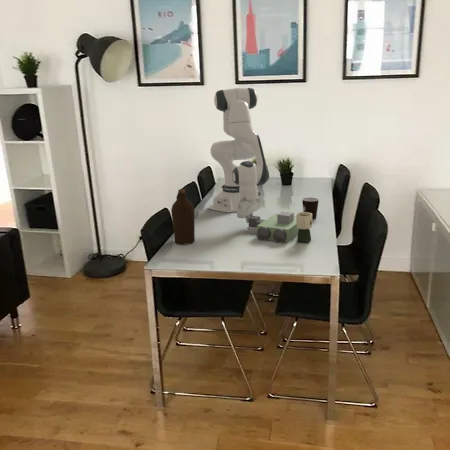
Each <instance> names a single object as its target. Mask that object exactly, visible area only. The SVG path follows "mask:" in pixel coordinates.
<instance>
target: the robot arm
mask: <svg viewBox="0 0 450 450" xmlns="http://www.w3.org/2000/svg"><path fill="white" fill-rule="evenodd" d="M258 99H259V98H258V94H257V91H256V89H254V88H252V87H247V88H246V87H235V88H228V89H227V88H226V89H220V90H217V91H216V92H215V95H214V98H213V101H214V102H213V103H214V106H215V108H216V110H217V111H220V112H223V113H222V115H223V118H222V119H223V123H222V124H223V125H222V126H223V128H222V129H223V131H224V133H225V134H226V135H227V136H229V137H232V138H233V140H220V141H216V142H213V143H212V144H211V147H210V150H209V151H210V155H211V157H212V159H214V161H216V162H218V163H219V165H220V166H221V168H222V172H223V174H224V175H223V176H224V184H222V185H221V187H220V188H221V189H222V191H220V192H219V193H218V194H216V196H214V198H213V200H212V204H210V205H209V207H208V209H209V210H212V211H218V212H224V213H235V212H236V217H237V218H239V219H245V222H246V223H247V224H249V218H250V217H251V216H254V213H255V212H257V211H258V210H259V209H260V207H261V196H262V192H261V191H262V190H261V191H260V190H258V186H257V185H259V186H260V185H263V186H264V185H265V184H266V183H267V182H268V181H269V179H270V172H269V168H268V165H267V162H266V158H265V154H264V149H263V146H262V141H261V139H260V138H261V137H260V135H259V133H258V132H256V131H255V130H254V128H253V126H252V118H251V111H250V110H252V109H254V108H255V107H256V106H257V104H258ZM254 158H255V162H253V161H250V159H254ZM243 160H244V161H243ZM246 160H247V161H246ZM234 161H241V162H239V163H240V164H239V165H236V164H235V163H234Z"/></svg>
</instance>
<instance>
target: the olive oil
mask: <svg viewBox="0 0 450 450" xmlns="http://www.w3.org/2000/svg"><path fill="white" fill-rule="evenodd" d="M186 194H187V193H186V189H184V188H178V191H177V196H178V198H177V199H176V200H175V201H174V202H173V204H172V206H171V210H170V211H171V218H172V228H173V229H172V231H173V236H174V243H175V244H177V245H183V246H184V245H185V246H186V245H189V244H193V243H195V242H196V241H195V239H196V238H195V232H196V231H195V207H194V205H193V203H192V201H190V200H189V199H188V198H187V197H186V196H187V195H186Z"/></svg>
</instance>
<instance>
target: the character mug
mask: <svg viewBox="0 0 450 450" xmlns="http://www.w3.org/2000/svg"><path fill="white" fill-rule="evenodd" d="M295 216H296V227H297V228H299V230H298V235H297V236H296V237H297V238H296V240H297V241H298V242H303V243H305V242H307V243H310V242H311V241H312V237H311V236H312V235H311V228H313V219H312V213H309V212H303V211H302V212H301V211H300V212H297V213H296V215H295Z"/></svg>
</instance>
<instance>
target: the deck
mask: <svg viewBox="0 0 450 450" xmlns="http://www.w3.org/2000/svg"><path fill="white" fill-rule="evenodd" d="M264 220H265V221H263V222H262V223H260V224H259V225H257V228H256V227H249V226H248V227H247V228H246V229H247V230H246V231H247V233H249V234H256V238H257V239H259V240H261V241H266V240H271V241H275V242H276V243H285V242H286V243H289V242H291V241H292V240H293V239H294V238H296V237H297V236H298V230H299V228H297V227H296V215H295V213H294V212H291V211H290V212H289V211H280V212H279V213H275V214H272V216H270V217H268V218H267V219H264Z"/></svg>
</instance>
